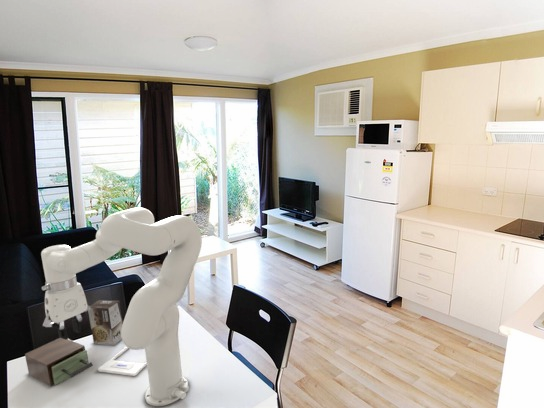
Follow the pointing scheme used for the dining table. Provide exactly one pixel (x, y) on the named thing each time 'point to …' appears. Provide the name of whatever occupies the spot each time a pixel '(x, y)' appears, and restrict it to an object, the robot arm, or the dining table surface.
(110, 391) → the dining table surface
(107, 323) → the coffee box
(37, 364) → the cabinet
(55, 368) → the drawer
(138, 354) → the dining table surface
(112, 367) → the photo frame
